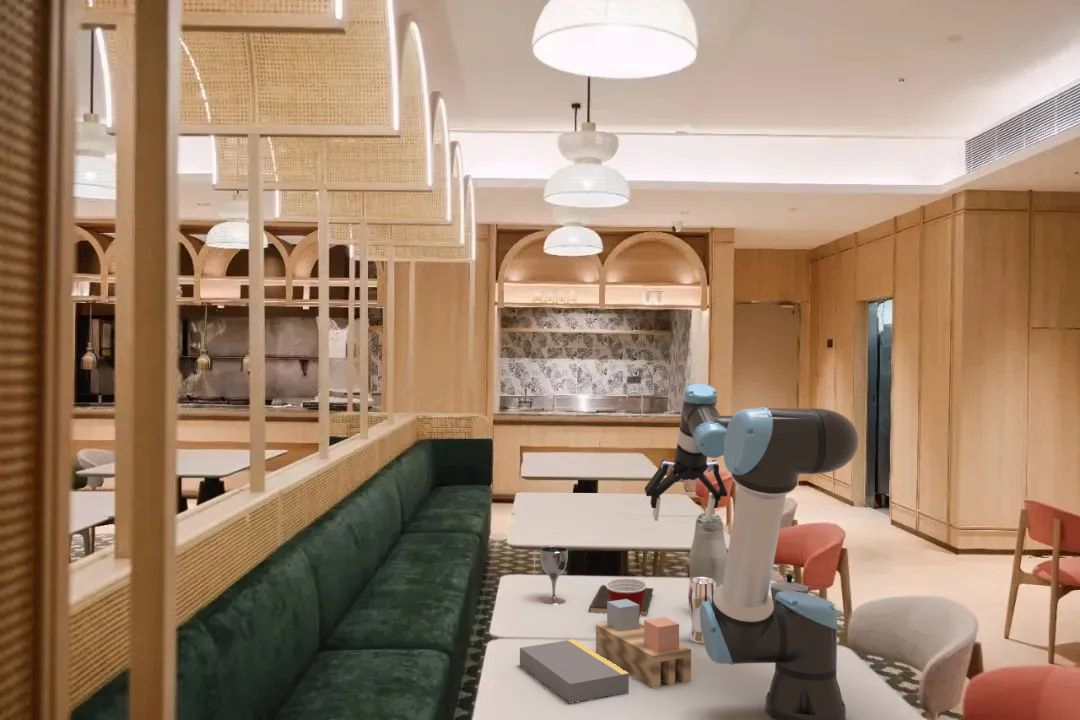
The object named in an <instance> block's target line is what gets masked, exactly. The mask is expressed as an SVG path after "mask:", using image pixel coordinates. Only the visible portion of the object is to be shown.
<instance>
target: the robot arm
mask: <svg viewBox="0 0 1080 720" xmlns="http://www.w3.org/2000/svg"><path fill="white" fill-rule="evenodd" d="M717 403H718V392H717V390H716V389H715V388H714V387H713V386H711V385H709V384H705V383H692V384H690V385H688V386H687V387H686V388H685V390H684V395H683V399H682V406H681V413H680V421H679V428H678V429H679V431H678V436H677V444H676V450H675V457H674V460H673V461H672V462H671V461H667V459H666V458H665V459H662V460H661V462H660V466H659V467H658V469H657V470H656V471H655V473H654V474H653V475H652V477H651V479H650V480H649V481H648V482H647V484H646V485H645V487H644V492H645V495H646V497H650V502H649V503H650V506H651V508H652V517H653V519H654V521H655V522H656V521H657V522H658V521H659V514H660V508H661V507H660V506H661V500H662V499H661V496H662V494H664V493H665V492H666V491H667V490H668V489H669V488H671V487H672V486H673V485H674V484H675V483H679V481H680V480H682V481H687V480H689V481H690V480H691V481H696V480H697V479H699V481H700V482H701V483H703V485H704V486H705V487H706V488H707V490H708V491H709V495H708V499H707V508H706V515H707V518H708V521H712V515H713V513H714V509H717V508H718V505H719V501H721V499H722V498H721V497H727V496H728V491H727V490H726V486H725V485H724V481H723V479H722V477H721V474H720V473H719V472H720V466H719V463H718V461H717V459H718V458H719V457H722V456H723V461H724V465H725V467H726V469H727V471H728V472H730V473H731V478H732V480H733V481H734V482H735V484H737V489H736V490H737V492H736V496H735V504H734V509H733V510H734V511H733V517H732V522H731V529H730V537H729V543H728V547H727V548H728V549H727V561H726V568H725V574H724V581H723V584H722V585H720V586H718V587H717V588H716V589H715V591H714V594H713V600H712V602H709V601H707V602H704V603H702V604H701V607H700V624H701V631H702V636H703V641H704V647H705V650H706V653H707V655H708V657H709V658H710V660H711V661H712V662H714V663H715V664H724V665H732V666H734V665H736V664H737V665H738V664H769V663H770V664H774V666H775V668H774V674H773V676H772V679H771V683H770V687H769V691H767V693H766V696H765V710H766V713H767V714H768V715H769V717H771V718H772V719H775V720H846V719H845V718H846V714H847V713H846V711H847V709H846V705H845V702H844V700H843V695H842V693H841V688H840V686H839V682H838V679H837V662H838V661H837V658H838V653H837V650H838V629H839V625H838V616H837V610H836V609H837V608H836V607H835V606H834V604H833V603H832V602H830V601H828V600H827V599H824V598H823V597H820V596H817V595H813V594H810V593H808V594H806V593H801V592H794V591H782V592H778V593H777V594H776V596H775V600H776V601H773V600H772V596H770V595H769V591H770V587H771V579H772V574H773V569H774V562H775V558H776V557H775V556H776V552H777V548H778V547H777V546H778V541H779V537H780V536H779V535H780V530H781V524H782V519H783V512H784V507H785V501H786V496H787V495H788V494H790V493H792V492H793V491H794V490H795V489H796V487H797V485H798V480H799V475H804V474H805V475H810V474H814V475H816V474H817V475H818V474H826V473H827V474H828V473H830V472H831V473H832V472H835V471H837V470H839V469H841V468H843V467H845V466H846V465H847V464H848V463H850V462H851V460H852V459H853V458H854V457H855V455H856V452H857V451H858V447H859V436H858V433H857V429H856V428H855V426H854V424H853V423H852V422H851V420H849V418H847V417H846V416H845V415H842V414H841V413H839V412H836V411H834V410H831V409H826V408H825V409H824V408H813V407H812V408H775V407H773V408H772V407H771V408H770V407H769V408H768V407H763V406H759V407H755V408H743V409H740V410H738V411H737V412H736V413H734V414H733V415H720V413H719V411H718V410H717ZM708 458H711V459H712V460H711V461H710V462H708ZM671 469H672V470H671ZM708 469H709V471H711V472H712V473H713V475H714V478H715V480H716V483H717V485H718V487H719V488H717V487H715V485H714V484H713V483H712V481H710V479H709V478H708V476H706V474H705V472H706V471H707V470H708ZM670 470H671V471H670ZM669 471H670V473H669V474H668V475H667V473H668V472H669ZM666 475H667V476H666Z"/></svg>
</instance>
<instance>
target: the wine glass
mask: <svg viewBox="0 0 1080 720" xmlns="http://www.w3.org/2000/svg"><path fill="white" fill-rule="evenodd" d="M539 550H540V552H539V553H540V564H541V567H542V569H543V571H544V572H545V573H546V575H547V576H548V577H549V579H550V581H551V591H552V593H551V596H550V597H544V598H542V599H541V600H540V601H541V602H542V603H543V604H547V605H562V604H565V603H566V602H567V600H566V599H565V598H562V597H557V596H556V586H557V585H556V584H557V581H558V579H559V577H560V576H561V575H562V574H563V572H564V571H565V570H566V568H567V563H568V559H569V558H568V557H569V555H568V554H569V550H568V547H566V546H565V547H564V546H558V545H547V546H543V547H540V549H539Z"/></svg>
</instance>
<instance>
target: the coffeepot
mask: <svg viewBox="0 0 1080 720" xmlns="http://www.w3.org/2000/svg"><path fill="white" fill-rule="evenodd" d="M785 576H786V581H785V580H780V581H779V580H777V581H776V582H772V583H771V582H770V592H771V594H770V595H771V599H772V600H773V601H776V600H775V596H776V594H777V593H778V592H782V591H794V592H801V593H806V594H809V586H807V585H805V584H801V583H799V582H794V581H792V580H793V574H790V573H788V574H785Z"/></svg>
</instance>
